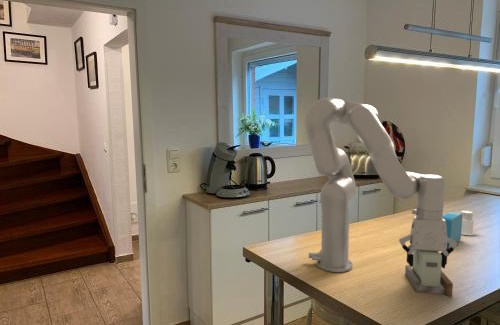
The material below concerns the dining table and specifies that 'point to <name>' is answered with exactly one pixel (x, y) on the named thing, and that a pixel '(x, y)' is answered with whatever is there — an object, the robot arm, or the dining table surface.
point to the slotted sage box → (427, 267)
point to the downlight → (467, 223)
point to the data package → (453, 226)
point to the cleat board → (444, 287)
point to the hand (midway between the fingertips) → (426, 265)
